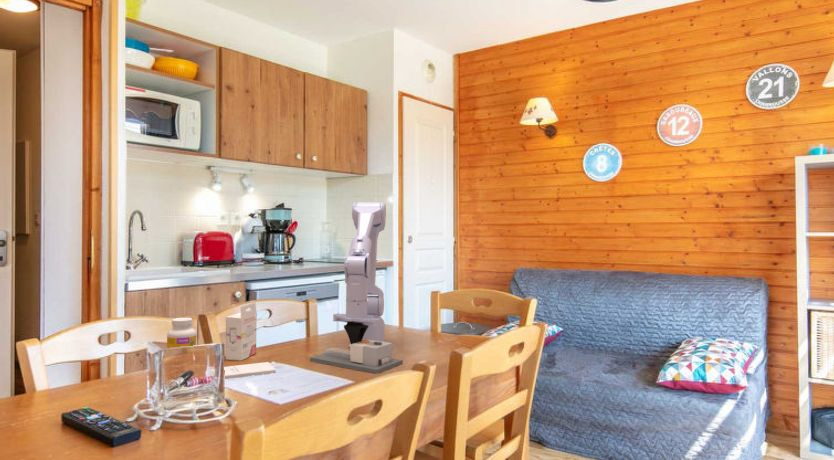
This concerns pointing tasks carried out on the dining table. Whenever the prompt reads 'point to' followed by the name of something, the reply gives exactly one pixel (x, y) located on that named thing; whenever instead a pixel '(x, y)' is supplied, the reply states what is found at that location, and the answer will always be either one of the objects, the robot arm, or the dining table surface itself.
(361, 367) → the mounting board
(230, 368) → the external hard drive
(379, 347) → the module
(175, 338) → the supplement bottle
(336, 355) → the din rail
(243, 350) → the ink cartridge box
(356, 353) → the din module
